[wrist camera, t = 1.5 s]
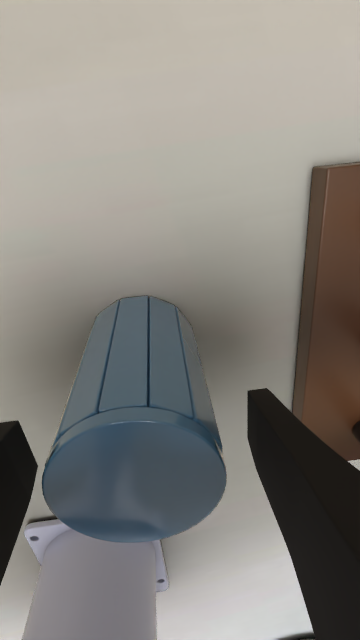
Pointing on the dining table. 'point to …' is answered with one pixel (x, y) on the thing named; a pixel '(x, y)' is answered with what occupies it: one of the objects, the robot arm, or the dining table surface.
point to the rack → (331, 312)
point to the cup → (136, 430)
